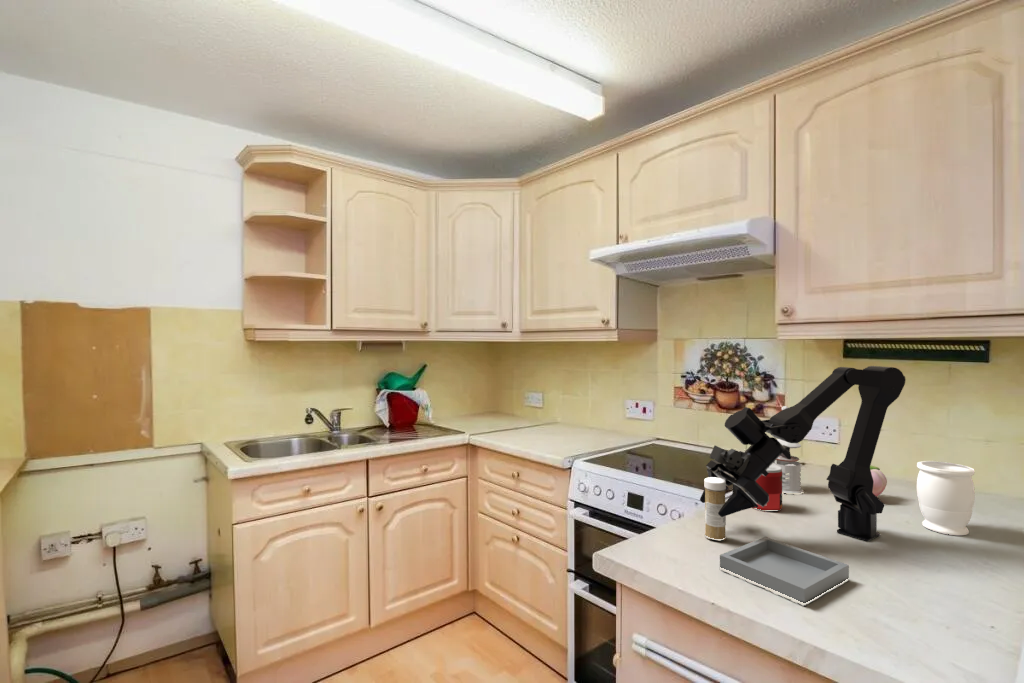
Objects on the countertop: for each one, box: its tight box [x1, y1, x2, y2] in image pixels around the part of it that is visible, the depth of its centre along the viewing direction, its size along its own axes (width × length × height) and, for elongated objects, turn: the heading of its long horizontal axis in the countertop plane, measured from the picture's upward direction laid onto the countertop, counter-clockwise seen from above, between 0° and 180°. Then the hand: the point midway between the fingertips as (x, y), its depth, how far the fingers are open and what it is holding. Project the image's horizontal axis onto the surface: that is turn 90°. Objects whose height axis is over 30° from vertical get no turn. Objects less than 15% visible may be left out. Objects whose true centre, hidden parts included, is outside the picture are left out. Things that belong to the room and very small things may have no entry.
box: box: [719, 536, 850, 603], centre depth 95 cm, size 16×16×3 cm
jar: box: [916, 460, 976, 536], centre depth 117 cm, size 11×10×15 cm
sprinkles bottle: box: [703, 477, 727, 539], centre depth 113 cm, size 5×5×14 cm
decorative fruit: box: [870, 464, 888, 497], centre depth 139 cm, size 9×8×10 cm
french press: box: [772, 405, 804, 493], centre depth 149 cm, size 10×12×25 cm
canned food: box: [753, 464, 783, 511], centre depth 133 cm, size 8×8×11 cm
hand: (710, 508), depth 113 cm, fingers open, 9 cm apart
